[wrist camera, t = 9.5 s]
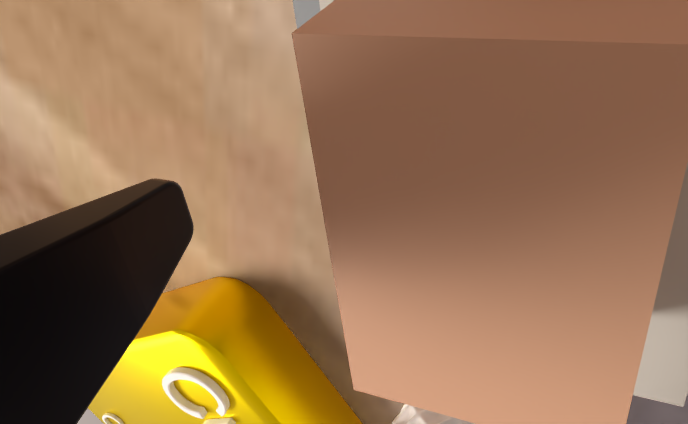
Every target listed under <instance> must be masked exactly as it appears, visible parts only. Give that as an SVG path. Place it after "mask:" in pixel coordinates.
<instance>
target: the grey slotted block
mask: <svg viewBox="0 0 688 424" xmlns="http://www.w3.org/2000/svg"><path fill="white" fill-rule="evenodd" d="M333 1H334V0H319V4H320V11H321V10H323V9H324V8H325V7H326V6H328V5H329V4H330V3H332V2H333ZM687 394H688V162H687V167H686V171H685V175H684V179H683V184H682V188H681V192H680V196H679V201H678V205H677V209H676V214H675V218H674V222H673V226H672V231H671V235H670V239H669V243H668V248H667V252H666V256H665V260H664V265H663V269H662V273H661V277H660V282H659V286H658V290H657V294H656V299H655V303H654V307H653V311H652V316H651V320H650V324H649V328H648V333H647V337H646V341H645V345H644V350H643V354H642V358H641V362H640V367H639V371H638V375H637V379H636V384H635V388H634V392H633V395H634V396H638V397H642V398H647V399H651V400H655V401H659V402H664V403H668V404H672V405H676V406H681V407H683V406H684V403H685V400H686V397H687Z"/></svg>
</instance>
